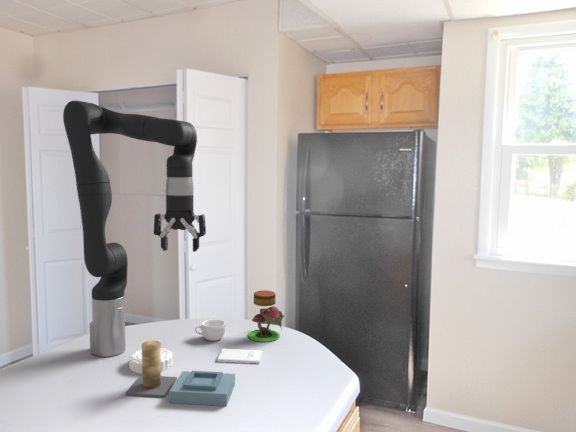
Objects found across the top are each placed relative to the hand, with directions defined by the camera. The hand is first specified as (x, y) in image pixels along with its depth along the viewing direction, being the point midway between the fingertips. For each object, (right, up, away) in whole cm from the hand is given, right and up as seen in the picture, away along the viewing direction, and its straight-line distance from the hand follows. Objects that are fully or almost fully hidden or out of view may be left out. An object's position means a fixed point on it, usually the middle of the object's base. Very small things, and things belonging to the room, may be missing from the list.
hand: (180, 250), depth 132 cm
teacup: (+5, -31, +23) cm, 39 cm away
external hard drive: (+16, -34, +9) cm, 38 cm away
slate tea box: (+9, -35, -14) cm, 39 cm away
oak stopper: (-5, -34, -11) cm, 36 cm away
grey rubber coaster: (-5, -34, -11) cm, 36 cm away
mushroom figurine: (+23, -31, +26) cm, 47 cm away
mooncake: (-9, -33, +2) cm, 35 cm away
